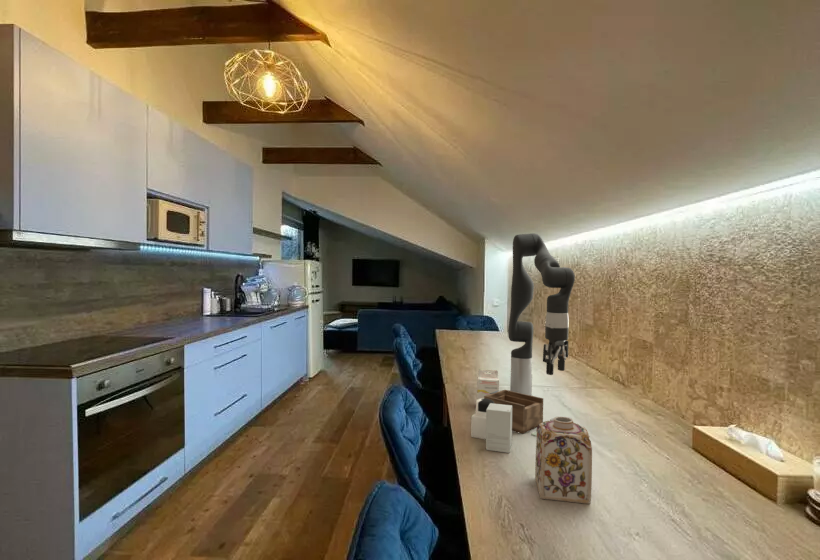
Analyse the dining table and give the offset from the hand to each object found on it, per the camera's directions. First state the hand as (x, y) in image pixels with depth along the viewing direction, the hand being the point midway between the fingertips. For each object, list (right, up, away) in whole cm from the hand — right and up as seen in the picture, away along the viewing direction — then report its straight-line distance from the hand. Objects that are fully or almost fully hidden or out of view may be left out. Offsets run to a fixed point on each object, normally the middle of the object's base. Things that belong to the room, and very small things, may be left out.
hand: (555, 372), depth 150 cm
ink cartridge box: (-18, -20, +28) cm, 39 cm away
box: (-13, -20, +8) cm, 25 cm away
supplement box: (-22, -20, -14) cm, 34 cm away
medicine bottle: (-25, -20, -5) cm, 33 cm away
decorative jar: (-12, -21, -41) cm, 48 cm away
